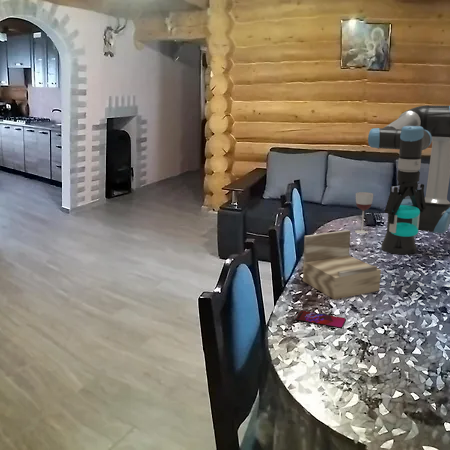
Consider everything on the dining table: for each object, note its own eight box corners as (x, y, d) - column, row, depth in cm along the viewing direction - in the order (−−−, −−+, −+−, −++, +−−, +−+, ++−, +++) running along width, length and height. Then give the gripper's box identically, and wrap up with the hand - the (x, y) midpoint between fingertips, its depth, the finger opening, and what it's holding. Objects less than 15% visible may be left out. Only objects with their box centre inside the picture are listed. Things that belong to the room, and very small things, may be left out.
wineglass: (371, 234, 265) (374, 195, 260) (353, 233, 267) (356, 194, 262) (370, 230, 273) (372, 192, 268) (353, 229, 274) (355, 191, 269)
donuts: (421, 211, 184) (391, 209, 187) (418, 238, 186) (389, 236, 189) (419, 205, 193) (391, 203, 196) (417, 231, 196) (389, 229, 198)
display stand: (302, 281, 200) (304, 235, 196) (345, 273, 209) (348, 230, 204) (334, 299, 183) (336, 250, 178) (379, 290, 191) (383, 243, 186)
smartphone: (342, 327, 160) (294, 319, 166) (341, 330, 161) (294, 321, 166) (346, 318, 167) (300, 310, 173) (346, 320, 167) (300, 312, 173)
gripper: (391, 174, 179) (386, 236, 184) (440, 169, 188) (434, 229, 193) (376, 171, 185) (372, 231, 191) (424, 166, 194) (419, 224, 200)
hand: (403, 230), depth 192 cm, fingers closed on donuts, 10 cm apart
